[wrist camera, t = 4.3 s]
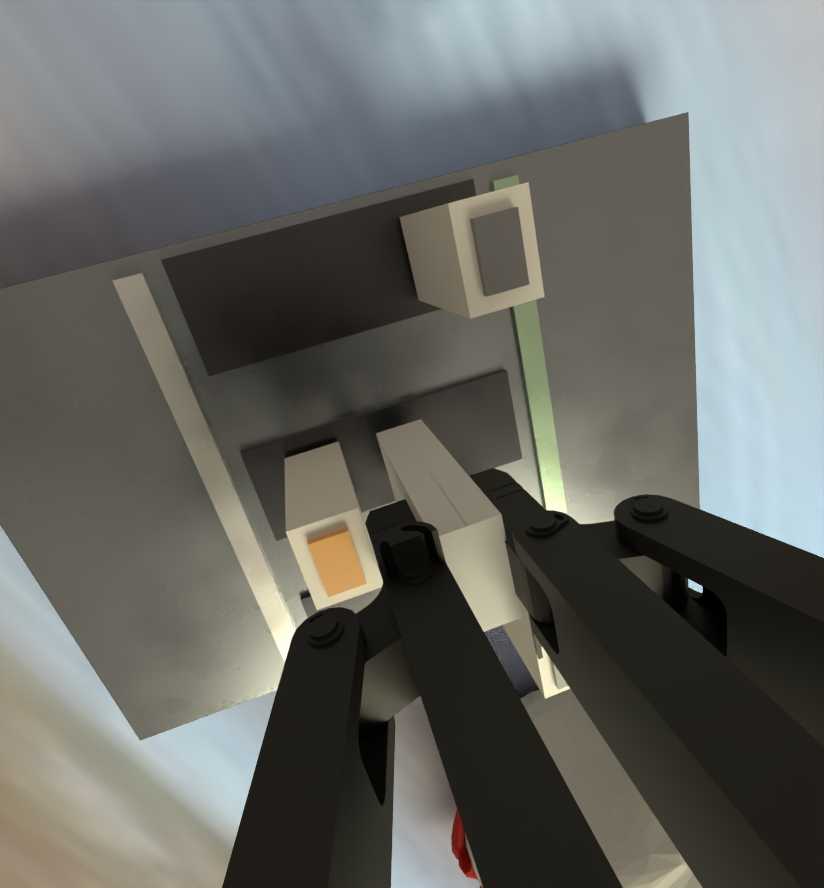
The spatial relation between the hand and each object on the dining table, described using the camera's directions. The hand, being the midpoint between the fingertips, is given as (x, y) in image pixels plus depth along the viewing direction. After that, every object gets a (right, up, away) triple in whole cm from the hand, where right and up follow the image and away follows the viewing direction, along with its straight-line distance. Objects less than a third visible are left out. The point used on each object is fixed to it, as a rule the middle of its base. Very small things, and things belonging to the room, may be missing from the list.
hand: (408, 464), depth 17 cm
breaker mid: (-3, -1, +1) cm, 3 cm away
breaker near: (+1, +6, -1) cm, 7 cm away
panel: (-1, +1, +3) cm, 3 cm away
